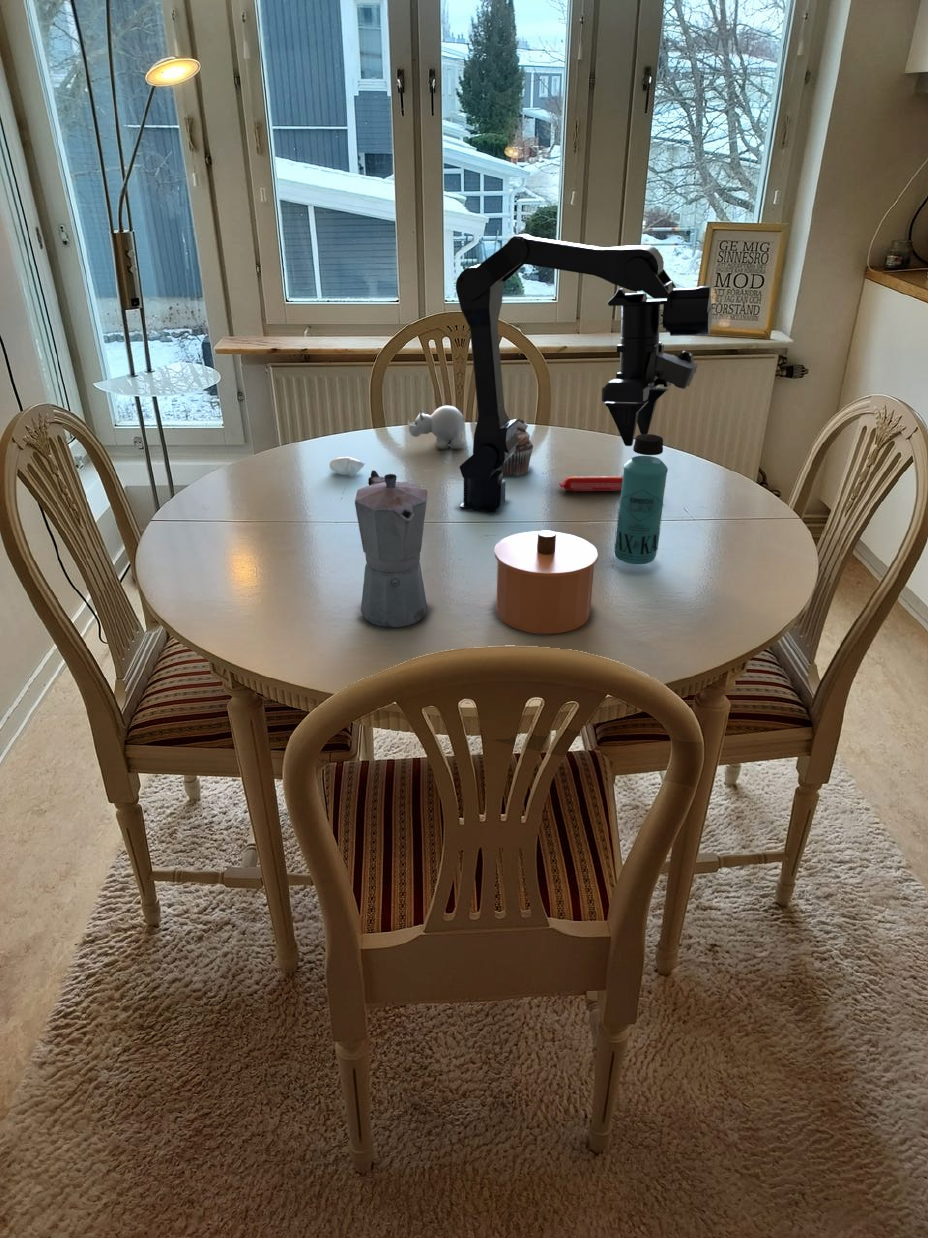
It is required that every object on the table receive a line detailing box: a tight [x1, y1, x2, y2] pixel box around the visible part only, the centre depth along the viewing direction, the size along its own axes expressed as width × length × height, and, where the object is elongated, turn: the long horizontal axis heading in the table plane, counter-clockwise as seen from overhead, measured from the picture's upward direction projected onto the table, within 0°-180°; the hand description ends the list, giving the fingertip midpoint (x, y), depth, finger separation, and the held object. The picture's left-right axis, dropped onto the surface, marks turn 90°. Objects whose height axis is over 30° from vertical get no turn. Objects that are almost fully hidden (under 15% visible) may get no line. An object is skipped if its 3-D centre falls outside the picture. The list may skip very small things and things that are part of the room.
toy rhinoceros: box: [407, 405, 466, 450], centre depth 180 cm, size 7×12×8 cm, turn 89°
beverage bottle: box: [613, 433, 669, 565], centre depth 126 cm, size 6×7×20 cm
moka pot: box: [354, 469, 428, 628], centre depth 112 cm, size 10×15×20 cm, turn 27°
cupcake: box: [499, 416, 534, 477], centre depth 167 cm, size 10×10×10 cm
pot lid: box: [494, 529, 599, 577], centre depth 113 cm, size 14×14×4 cm
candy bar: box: [558, 475, 623, 492], centre depth 158 cm, size 16×4×3 cm, turn 92°
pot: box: [495, 560, 595, 635], centre depth 115 cm, size 13×13×8 cm
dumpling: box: [328, 456, 365, 477], centre depth 166 cm, size 7×5×4 cm
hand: (636, 439), depth 136 cm, fingers open, 9 cm apart
